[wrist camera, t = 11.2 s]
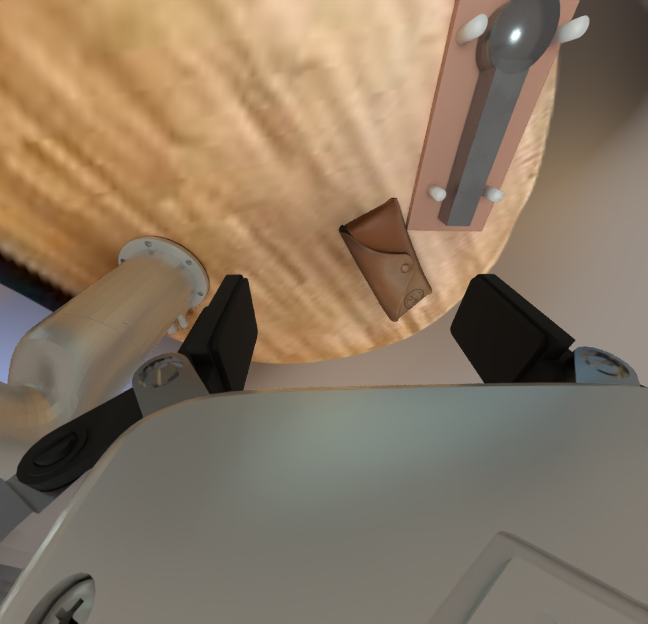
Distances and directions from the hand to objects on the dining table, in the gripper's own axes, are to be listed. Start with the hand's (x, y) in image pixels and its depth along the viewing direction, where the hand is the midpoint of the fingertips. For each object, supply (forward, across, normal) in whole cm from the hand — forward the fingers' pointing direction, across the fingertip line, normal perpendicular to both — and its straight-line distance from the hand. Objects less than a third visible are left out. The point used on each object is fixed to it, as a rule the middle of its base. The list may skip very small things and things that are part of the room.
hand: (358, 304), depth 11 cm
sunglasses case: (+26, -10, +10) cm, 29 cm away
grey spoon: (+23, -15, -6) cm, 28 cm away
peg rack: (+24, -16, -6) cm, 29 cm away
